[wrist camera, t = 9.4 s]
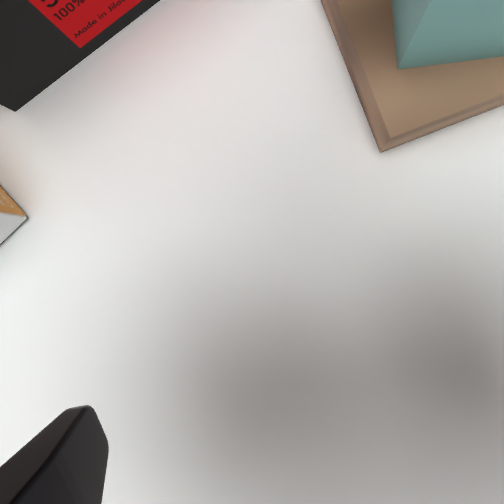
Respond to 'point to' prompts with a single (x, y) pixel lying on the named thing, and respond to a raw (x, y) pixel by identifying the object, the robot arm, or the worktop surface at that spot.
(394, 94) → the walnut slab
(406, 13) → the teal block
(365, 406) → the worktop surface
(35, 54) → the cleaning product box
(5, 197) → the small box
